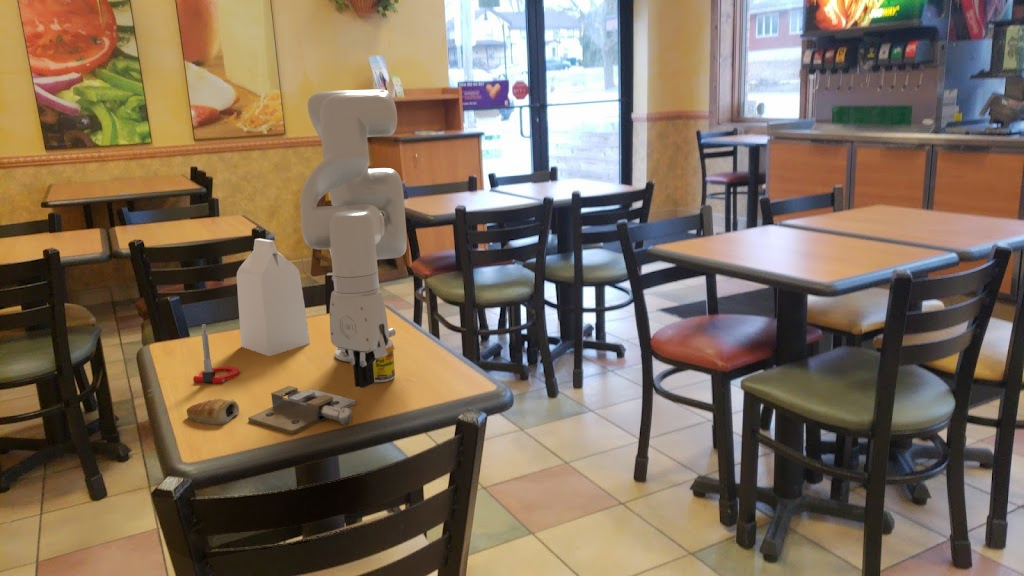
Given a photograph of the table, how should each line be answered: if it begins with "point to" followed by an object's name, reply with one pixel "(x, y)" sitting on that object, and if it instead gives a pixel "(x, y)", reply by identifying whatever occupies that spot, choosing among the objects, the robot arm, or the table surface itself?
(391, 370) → the supplement bottle
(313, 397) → the hinge leaves
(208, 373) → the tow hook
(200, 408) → the pastry
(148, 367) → the table surface
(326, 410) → the pin
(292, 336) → the milk
